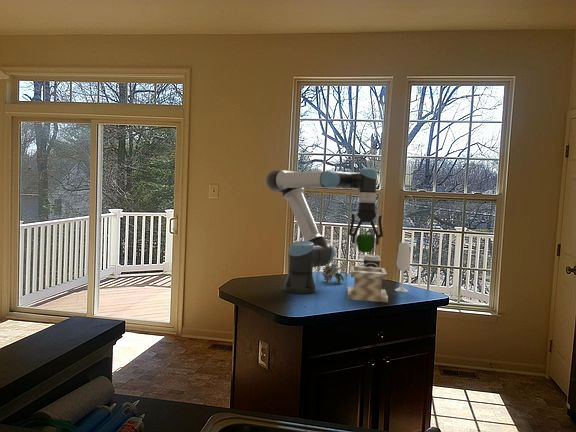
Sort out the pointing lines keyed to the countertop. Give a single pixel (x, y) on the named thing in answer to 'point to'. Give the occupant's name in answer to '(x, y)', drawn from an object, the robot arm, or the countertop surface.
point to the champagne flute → (403, 262)
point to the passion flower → (332, 273)
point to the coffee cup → (372, 261)
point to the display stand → (368, 284)
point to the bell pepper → (365, 242)
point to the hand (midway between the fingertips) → (364, 251)
